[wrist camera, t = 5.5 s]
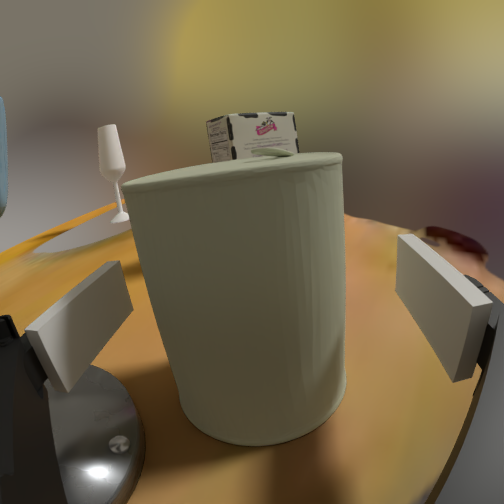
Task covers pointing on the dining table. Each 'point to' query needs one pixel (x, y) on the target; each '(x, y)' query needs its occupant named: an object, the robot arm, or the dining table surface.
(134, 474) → the flange plate
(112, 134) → the champagne flute
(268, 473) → the dining table surface
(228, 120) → the candy bar box
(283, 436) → the can
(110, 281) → the robot arm
